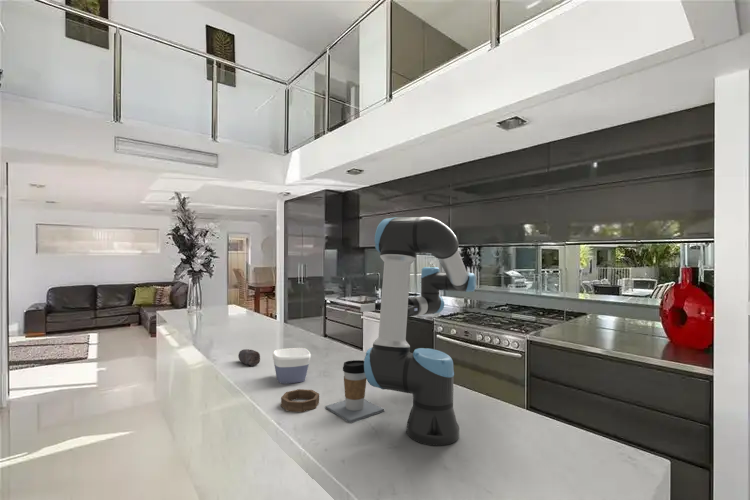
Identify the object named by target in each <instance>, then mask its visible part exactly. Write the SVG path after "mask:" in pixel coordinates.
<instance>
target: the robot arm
mask: <svg viewBox="0 0 750 500" xmlns="http://www.w3.org/2000/svg"><path fill="white" fill-rule="evenodd" d="M374 248H375V250H376V251H377V252H378V253H379V259H381V260H382V261H383V262H384V263H383V275H382V285H381V297H380V298H381V300H380V302H371V303H364V304H363V303H362V304H361V303H360V313H365V312H372V313H374V312H375V311H380V312H379V326H378V336H377V338H376V339H375V340H374V341H373V342H372V347H369V348H368V349H367V350H366V352H365V356H364V359H363V361H364V372H365V376H366V382H367V383H368V385H370V386H372V387H374V388H377V389H381V390H388V391H393V392H394V391H395V392H400V393H405V394H412V400H413V401H412V406H411V409H410V412H409V415H408V419H407V421H406V434H407V435H408V437H410V439H412V440H413V441H415V442H417V443H420V444H424V445H430V446H447V445H451V444H454V443H455V442H457V441H458V439H459V438H460V426H459V424H458V421H457V416H456V413H455V410H454V409H455V408H454V383H455V381H454V378H455V377H454V376H455V371H454V370H455V369H454V361H453V359H452V357H451V356H450V355H449V354H447V353H446V352H444V351H442V350H437V349H435V348H427V347H426V348H424V347H418V348H415V349H414V351H413V352H410V351H411V345H410V344H409V342H408V341H407V323H408V318H410V317H416V316H417V317H418V318H419V317H420V316H425V315H434V314H439V313H441V312H442V311H443V310H444V308H445V301H444V299H443V297H442V296H441V295H440V291H448V292H449V291H450V292H461V293H462V292H464V293H470V292H472V293H473V292H474V291H475V290H476V286H477V276H476V274H475V273H474V272H469V271H468V272H467V268H466V266H465V264H464V262H463V259H462V257H461V254H460V251H459V241H458V237H457V235H456V234H455V233H454V232H453V230H452V229H451V228H450V227H449V226H448V225H446V224H445V223H443V222H442V221H440V220H439V219H436V218H434V217H430V216H411V217H410V216H408V217H406V216H405V217H400V216H399V217H389V218H384V219H382V220H381V221H380V222H379V224H378V225H377V227H376V231H375V233H374ZM417 254H431V255H432V256H433V257H434V258H436V259H437V260H438V262H439V263H440V266H441V267H442V269H443V271H440V268H439V267H435V266H434V267H432V266H424V267H422V268H421V275H420V283H421V284H420V296H419V295H418V296H409V295H410V281H411V277H410V276H411V266H412V263H414V262H415V261H416V259H417Z"/></svg>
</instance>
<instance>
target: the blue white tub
mask: <svg viewBox="0 0 750 500" xmlns="http://www.w3.org/2000/svg"><path fill="white" fill-rule="evenodd" d="M311 357H312V354H311V352H310V351H309V350H308V349H307V348H305V347H294V348H293V347H291V348H289V347H288V348H279V349H275V350H274V351H273V352H272V360H273V365H274V371H275V375H276V380H277V381H278V382H279V383H280V384H281V385H282V384H283V385H287V384H297V383H302V382H305V381H306V378H307V375H308V374H307V373H308V370H309V365H310V362H311Z"/></svg>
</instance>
